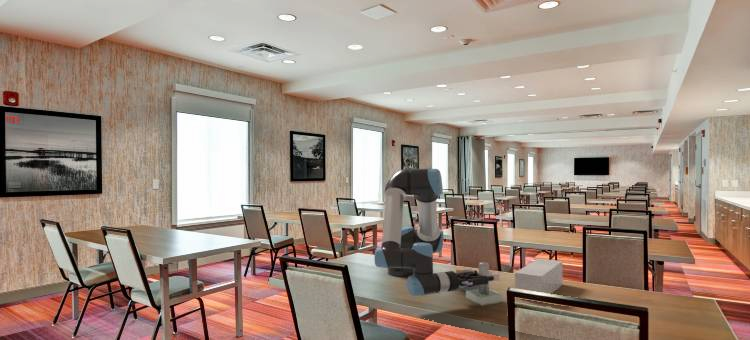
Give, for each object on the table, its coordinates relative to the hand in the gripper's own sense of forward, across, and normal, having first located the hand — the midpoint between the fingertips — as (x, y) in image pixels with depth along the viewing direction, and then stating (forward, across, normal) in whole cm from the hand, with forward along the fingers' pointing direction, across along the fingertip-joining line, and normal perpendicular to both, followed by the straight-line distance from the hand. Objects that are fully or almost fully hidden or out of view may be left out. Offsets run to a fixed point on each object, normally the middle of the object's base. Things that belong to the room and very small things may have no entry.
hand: (494, 275), depth 177 cm
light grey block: (+24, -1, -10) cm, 26 cm away
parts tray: (-5, 0, -10) cm, 11 cm away
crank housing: (-3, -15, -9) cm, 18 cm away
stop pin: (-5, 0, -6) cm, 8 cm away
